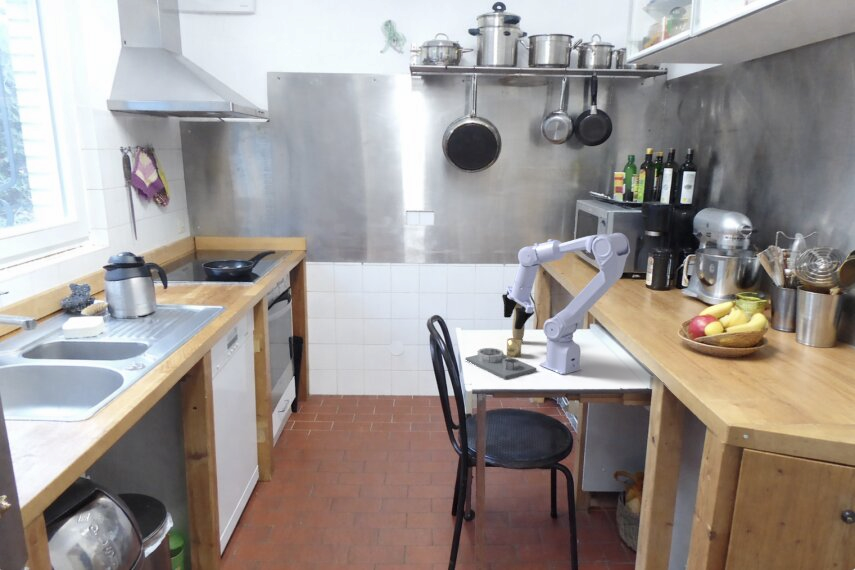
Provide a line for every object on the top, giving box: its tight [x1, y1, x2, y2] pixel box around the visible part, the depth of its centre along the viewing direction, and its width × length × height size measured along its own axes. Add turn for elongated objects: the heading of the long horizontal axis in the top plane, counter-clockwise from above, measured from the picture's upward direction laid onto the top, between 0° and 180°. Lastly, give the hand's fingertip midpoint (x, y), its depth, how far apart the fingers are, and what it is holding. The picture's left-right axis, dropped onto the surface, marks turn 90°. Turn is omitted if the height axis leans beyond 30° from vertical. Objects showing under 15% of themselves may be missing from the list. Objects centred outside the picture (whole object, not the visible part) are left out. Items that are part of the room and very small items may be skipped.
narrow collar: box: [502, 358, 520, 370], centre depth 164 cm, size 5×5×2 cm
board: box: [465, 354, 537, 380], centre depth 168 cm, size 18×12×1 cm, turn 34°
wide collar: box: [476, 347, 505, 363], centre depth 172 cm, size 8×8×2 cm
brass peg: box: [506, 337, 522, 359], centre depth 177 cm, size 4×4×5 cm
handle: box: [511, 303, 526, 344], centre depth 189 cm, size 5×6×15 cm
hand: (512, 322), depth 177 cm, fingers open, 7 cm apart
